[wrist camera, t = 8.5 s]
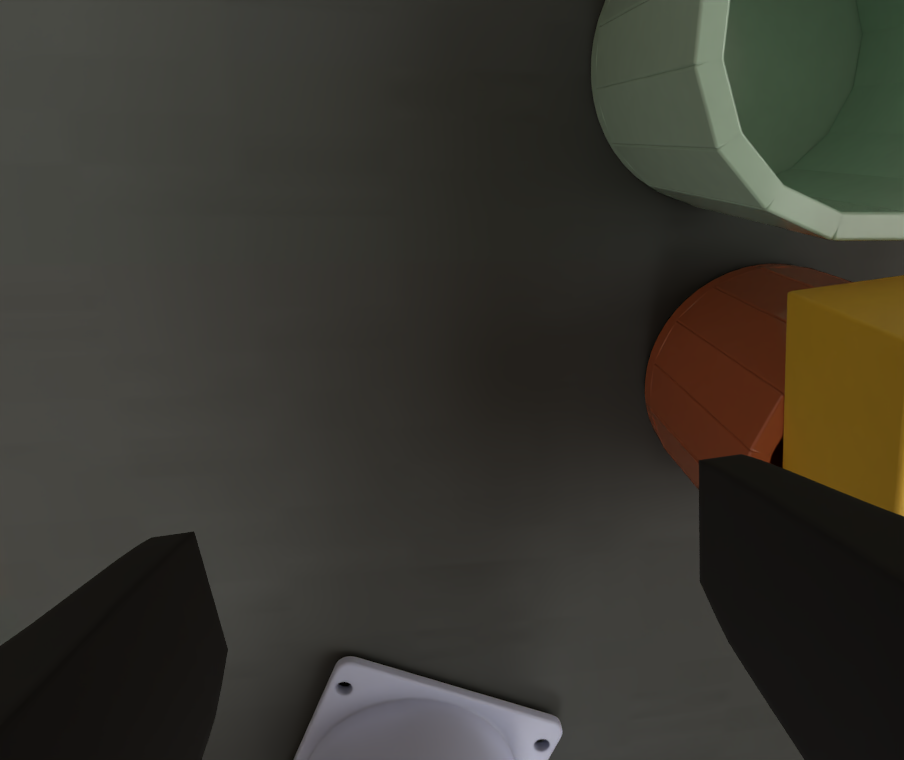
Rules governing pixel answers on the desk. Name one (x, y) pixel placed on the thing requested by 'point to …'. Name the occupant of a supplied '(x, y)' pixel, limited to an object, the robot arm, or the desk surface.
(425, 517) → the desk surface
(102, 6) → the desk surface
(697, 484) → the terracotta cup
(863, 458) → the coffee packet
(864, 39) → the celadon cup
